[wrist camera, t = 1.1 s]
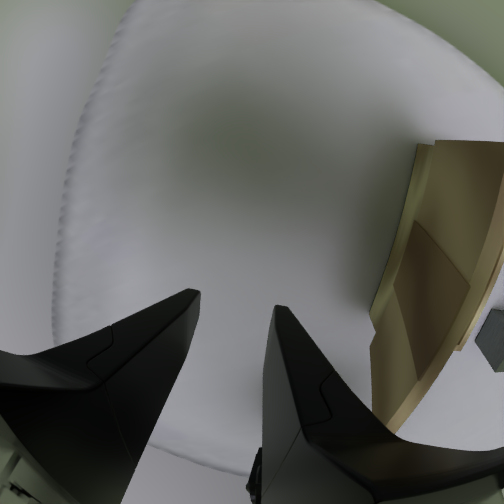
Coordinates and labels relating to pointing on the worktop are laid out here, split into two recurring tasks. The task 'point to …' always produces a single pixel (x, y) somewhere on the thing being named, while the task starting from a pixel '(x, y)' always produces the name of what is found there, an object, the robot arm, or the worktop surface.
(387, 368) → the lid
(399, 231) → the box
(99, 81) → the worktop surface
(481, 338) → the block
